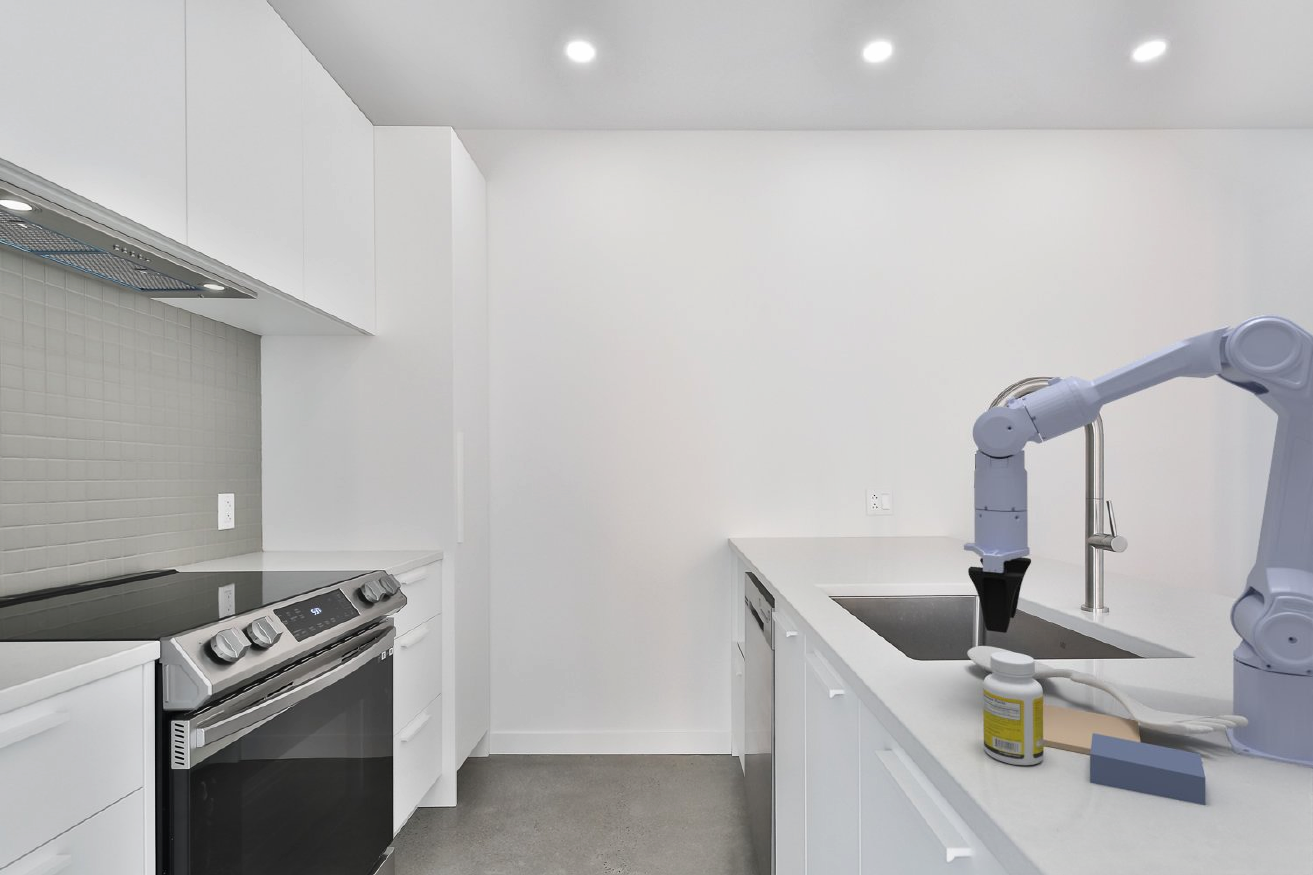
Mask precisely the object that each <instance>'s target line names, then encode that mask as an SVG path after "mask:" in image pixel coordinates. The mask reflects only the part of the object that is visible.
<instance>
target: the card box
mask: <svg viewBox="0 0 1313 875" xmlns="http://www.w3.org/2000/svg"><path fill="white" fill-rule="evenodd" d="M1204 769H1205V768H1204V766H1203V761H1202V756H1201V753H1197V752H1192V751H1186V750H1182V749H1181V750H1180V749H1176V748H1171V747H1165V746H1161V745H1157V744H1155V745H1154V744H1150V743H1146V742H1145V743H1144V742H1141V741H1140V742H1136V741H1131V740H1126V739H1121V738H1116V737H1110V736H1105V735H1100V734H1095V733H1093V734H1092V743H1091V751H1090V755H1089V783H1090V784H1094V785H1095V784H1096V785H1099V786H1105V787H1110V788H1116V789H1120V790H1126V791H1131V792H1137V793H1140V794H1145V795H1146V794H1147V795H1151V796H1156V797H1161V798H1168V799H1171V800H1176V801H1182V802H1188V803H1192V804H1197V805H1203V806H1206V775H1205V770H1204Z"/></svg>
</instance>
